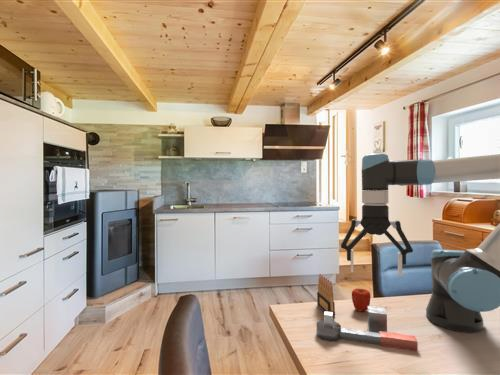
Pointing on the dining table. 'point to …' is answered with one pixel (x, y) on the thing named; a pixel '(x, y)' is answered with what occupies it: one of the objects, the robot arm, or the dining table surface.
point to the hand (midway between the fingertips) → (375, 273)
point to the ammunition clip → (325, 295)
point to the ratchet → (363, 335)
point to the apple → (361, 299)
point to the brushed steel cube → (377, 319)
